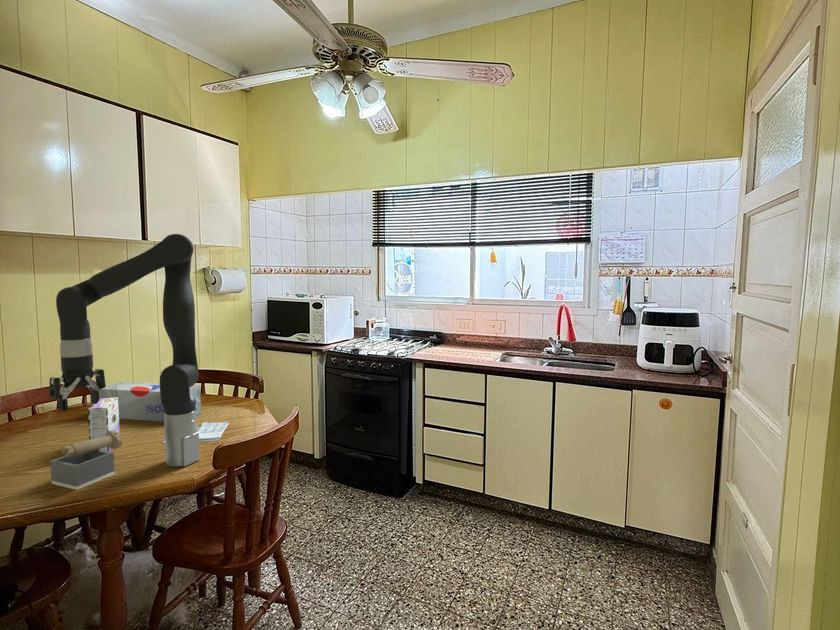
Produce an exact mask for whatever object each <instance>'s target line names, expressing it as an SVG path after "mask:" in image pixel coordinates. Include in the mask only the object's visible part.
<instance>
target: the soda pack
mask: <svg viewBox="0 0 840 630" xmlns="http://www.w3.org/2000/svg"><path fill="white" fill-rule="evenodd" d="M189 389H190V399H191V400H194V401H195V403H196V417H198V416H200V415H201V413H202V412H201V411H202V408H201V407H202V405H201V386H200V385H195V384H194V385H193V386H192V387H190V388H189ZM114 397H118V406H119V420H123V419H124V420H133V421H134V420H135V421H148V422H151V421H152V422H162V423H163V422H164V423H165V421H164V408H163V406H162V404H161V396H160V383H144V382H128V381H127V382H126V381H125V382H123V381H121V382H117V383H113V384H110V385H106V387H105V388H102V389H100V390H99V400H100V399H101V398H114Z"/></svg>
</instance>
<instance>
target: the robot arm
mask: <svg viewBox="0 0 840 630" xmlns="http://www.w3.org/2000/svg"><path fill="white" fill-rule="evenodd" d="M194 248H195V247H194V243H193V242H192V241H191V239H190V238H189V237H187V236H185V235H183V234H182V233H181V234H180V233H172V234H169V235H166V236H165V237H164V238H163V239H162V240H161V241H160V242H158V243H157V244H155V245H153V246H152V247H151V248H149V249H148V250H145V251H144V252H142V253H140V254H138V255H136V256H133V257H131V258H129V259H126V260H124V261H121V262H119V263H117V264H115V265H112V266H110V267H107V268H106V269H104V270H102V271H99V272H98V273H95V274H94V275H92V276H91V277H89V278H88V279H85V280H83V281H82V282H79V283H76V284H75V285H72V286H70V287H69V286H67V287H64V288H62V289H60V290H59V291H58V293H56V297H55V298H56V300H55V305H56V313H57V316H58V321H59V333H60V334H59V335H60V345H59V355H60V368H61V369H60V370H61V372H62V373H61V376H59V377H54V376H53V377H50V378H49V390H48V391H49V398H50V399H56V400H57V404H58V405H57V406H58V407H57V408H58V410H59V411H60V412H63V413H65V412H69V404H68V403H69V402H68V396H69V395H70V393H72V392H73V390H76V389H79V388H85V387H86V388H88V389H89V390H90V392H89V395H90V398H89V399H90V403H91V404H92V405H94V404H97V403H98V401H99V390H100V389H102V388H105V387H106V386H107V384H106V378H105V370H104V369H101V368H96V369H93V368H94V356H93V355H94V354H93V344H92V338H91V336H92V335H91V325H90V321H89V320H88V311H87V307H89V306H91V305H92V304H94V303H97V302H98V301H99V300H101V299H102V298H104V297H108V296H110V295H112V294H114V293H117V292H119V291H121V290H123V289H124V288H127V287H128V286H130V285H133V284H134V283H136V282H138V281H139V280H141V279H142V278H144V277H146V276H148V275H150V274H151V273H154V272H155V271H157V270H160V269H162V268H164V276H165V277H164V279H165V280H164V288H163V296H162V322H163V326H164V330H165V332H166V335H167V337H168V338H169V341H170V344H171V346H172V364H171V365H168V366H167V367H165V368H164V369H163V370H162V371H161V373H160V376H159V384H160V396H161V404H162V406H163V408H164V421H165V422H164V441H165V444H164V446H165V448H164V449H165V465H166V466H168V467H175V468H177V467H186V466H189V465H190V464H193V463H194V462H195V463H196V462H198V461H200V442H199V433H198V432H197V430H196V429H197V428H196V426H197V416H196V403H195V401H194V400H191V399H190V389H189V388H190V387H192V386H193V385H195V384H197V381H198V379H199V374H200V372H199V365H198V358H197V351H196V350H197V348H196V319H195V318H196V314H195V313H196V311H195V309H196V308H195V306H196V305H195V298H194V293H193V292H194V291H193V286H192V280H191V269H192V267H191V265H192V257H193V254H194V251H195V250H194ZM94 377H95V380H93V378H94ZM62 382H63V384H62ZM61 384H62V385H61Z"/></svg>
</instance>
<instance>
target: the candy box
mask: <svg viewBox="0 0 840 630" xmlns="http://www.w3.org/2000/svg"><path fill="white" fill-rule="evenodd" d="M87 413H88V415H87V417H88V418H87V419H88V434H89V435H88V437H89V439H88V440H91V439H96V438H101V437H105V435H106V433H107V432H108V431H111V430H113V431H116V432H117V433H118V434H119V435H120V436H121V429H120V418H119V406H118V397H114V398H101V399H100V400H99V401H98V403H97V404H92V405H91V406H90V407H88V409H87ZM99 450H104V451H109V452H111V450H112V448H110V447H104V448H101V449H99Z"/></svg>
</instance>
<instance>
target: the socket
mask: <svg viewBox="0 0 840 630" xmlns="http://www.w3.org/2000/svg"><path fill="white" fill-rule="evenodd" d="M114 455H115V454H114V451H113V452H112V451H104V450H99V449H98V450H95V451H92V452H89V453H86V454H82V455H78V456H72V457H64V456H60V457H58V458H55V459H51V460H49V461H50V479H51V480H50V481H51V484H52V485H56V486H59V487H64V488H67V489H71V490H76V491H78V490H80V489H82V488H85V487H88V486H90V485H93V484H94V483H97V482H99V481H102V480H104V479H106V478H108V477H111V476H113V475H115V456H114Z"/></svg>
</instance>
